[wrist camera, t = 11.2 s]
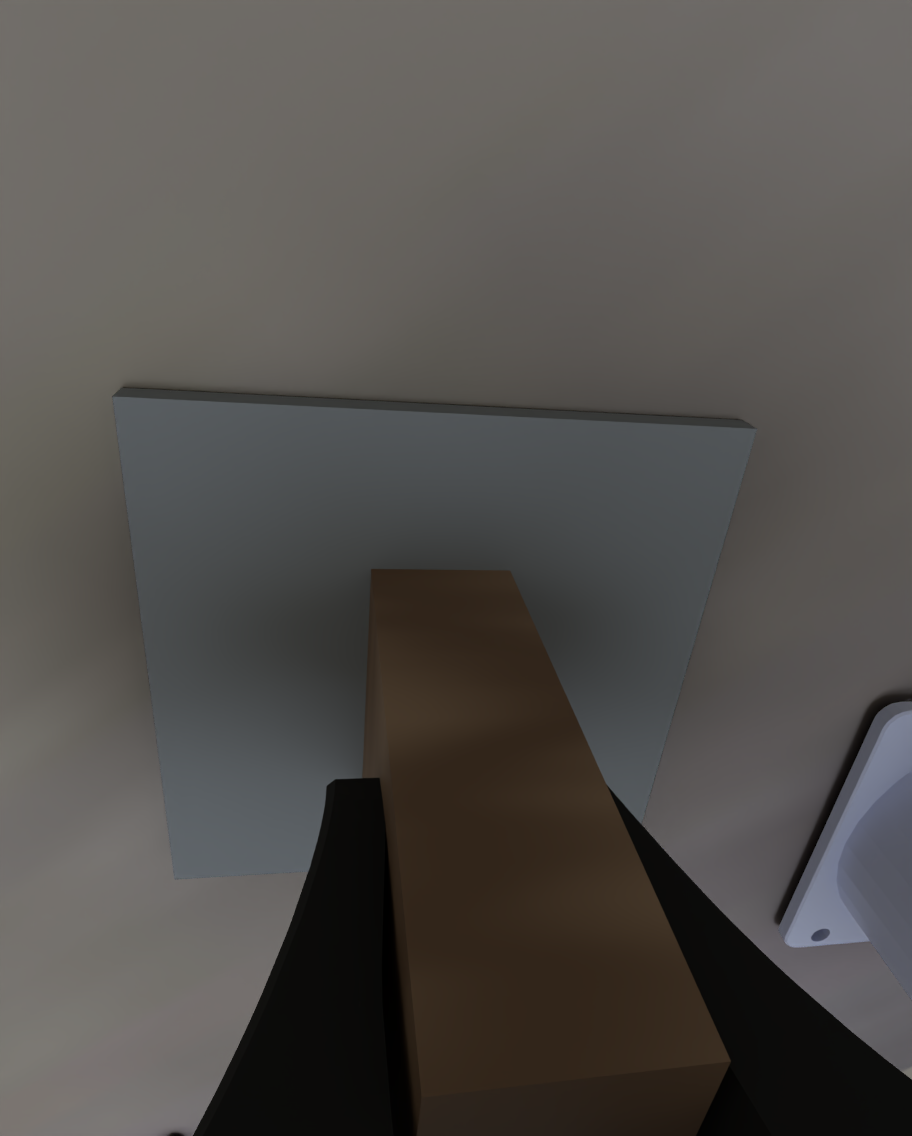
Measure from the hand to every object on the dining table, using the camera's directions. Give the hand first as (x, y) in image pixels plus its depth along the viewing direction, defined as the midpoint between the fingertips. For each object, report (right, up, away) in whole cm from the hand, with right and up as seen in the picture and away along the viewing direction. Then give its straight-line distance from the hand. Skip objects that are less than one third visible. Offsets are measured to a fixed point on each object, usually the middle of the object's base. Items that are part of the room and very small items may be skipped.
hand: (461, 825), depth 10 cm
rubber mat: (-1, +2, +4) cm, 4 cm away
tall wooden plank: (-1, +1, +3) cm, 4 cm away
